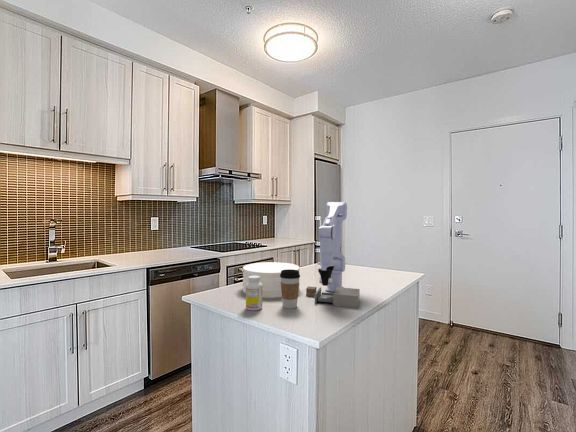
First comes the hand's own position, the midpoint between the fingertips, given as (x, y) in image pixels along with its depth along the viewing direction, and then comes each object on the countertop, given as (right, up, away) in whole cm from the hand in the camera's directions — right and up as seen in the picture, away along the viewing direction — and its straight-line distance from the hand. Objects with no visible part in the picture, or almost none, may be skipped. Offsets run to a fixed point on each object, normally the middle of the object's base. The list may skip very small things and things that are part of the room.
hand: (326, 283), depth 137 cm
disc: (0, 0, 0) cm, 1 cm away
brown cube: (-6, -7, +9) cm, 13 cm away
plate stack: (-25, -7, +18) cm, 32 cm away
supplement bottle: (-30, -8, -11) cm, 33 cm away
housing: (+9, -8, -2) cm, 12 cm away
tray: (+1, -7, 0) cm, 7 cm away
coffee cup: (-16, -8, -8) cm, 20 cm away
